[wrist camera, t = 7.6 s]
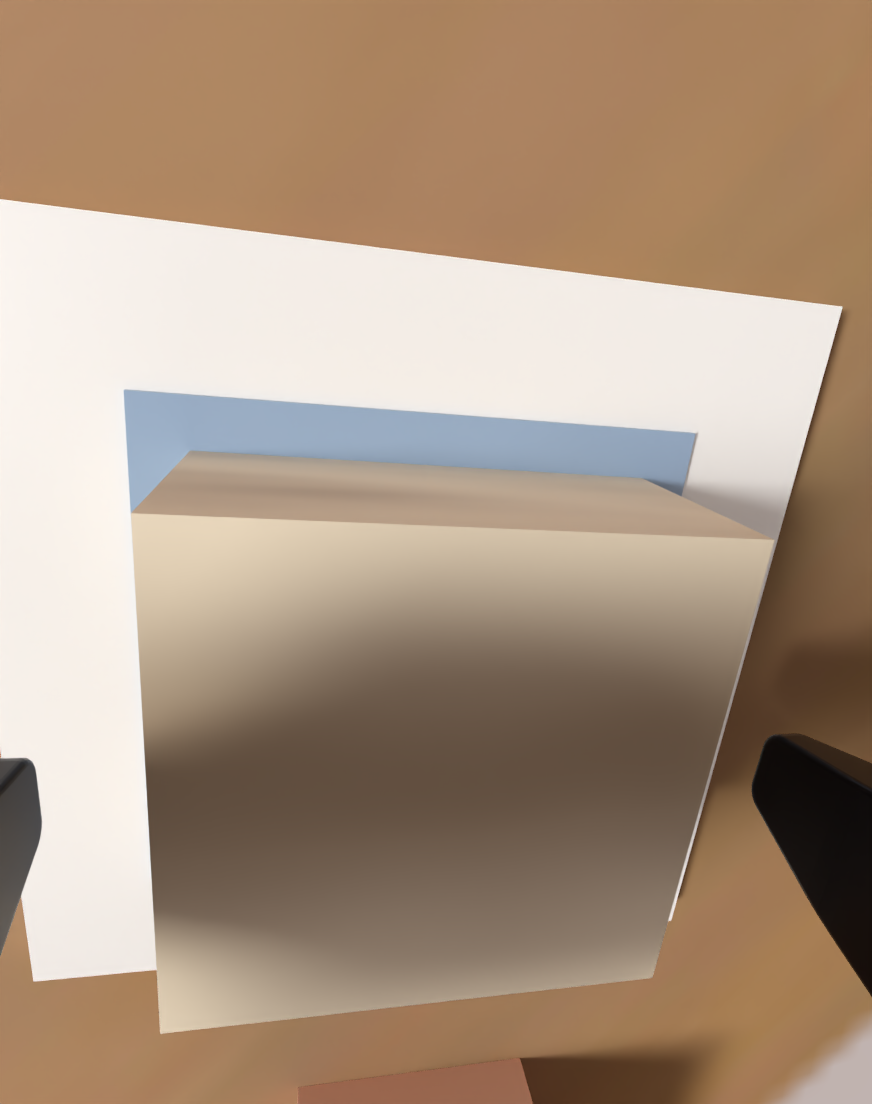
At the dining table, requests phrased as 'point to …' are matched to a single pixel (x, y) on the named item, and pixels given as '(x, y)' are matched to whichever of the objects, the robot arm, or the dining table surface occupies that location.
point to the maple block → (422, 727)
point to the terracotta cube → (430, 1087)
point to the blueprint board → (310, 456)
